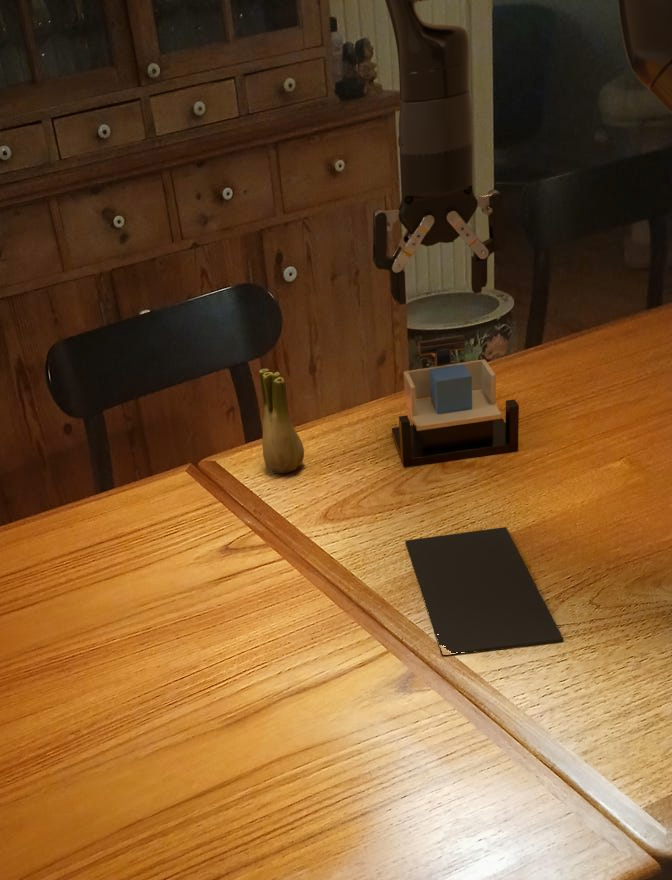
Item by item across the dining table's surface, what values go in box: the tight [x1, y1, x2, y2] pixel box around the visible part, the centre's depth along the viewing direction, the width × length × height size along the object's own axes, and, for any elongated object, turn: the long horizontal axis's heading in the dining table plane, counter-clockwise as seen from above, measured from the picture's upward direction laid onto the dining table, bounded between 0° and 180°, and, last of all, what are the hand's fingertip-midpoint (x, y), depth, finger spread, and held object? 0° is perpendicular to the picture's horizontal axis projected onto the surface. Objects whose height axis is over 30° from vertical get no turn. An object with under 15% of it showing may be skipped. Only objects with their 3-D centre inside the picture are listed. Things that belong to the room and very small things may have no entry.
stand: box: [390, 399, 520, 468], centre depth 116 cm, size 13×10×6 cm
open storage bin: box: [403, 334, 503, 431], centre depth 114 cm, size 10×11×7 cm
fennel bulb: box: [258, 368, 305, 474], centre depth 116 cm, size 6×5×12 cm
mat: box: [404, 526, 564, 654], centre depth 91 cm, size 10×20×1 cm, turn 179°
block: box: [430, 364, 472, 414], centre depth 114 cm, size 4×4×4 cm
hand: (439, 297), depth 113 cm, fingers open, 8 cm apart
